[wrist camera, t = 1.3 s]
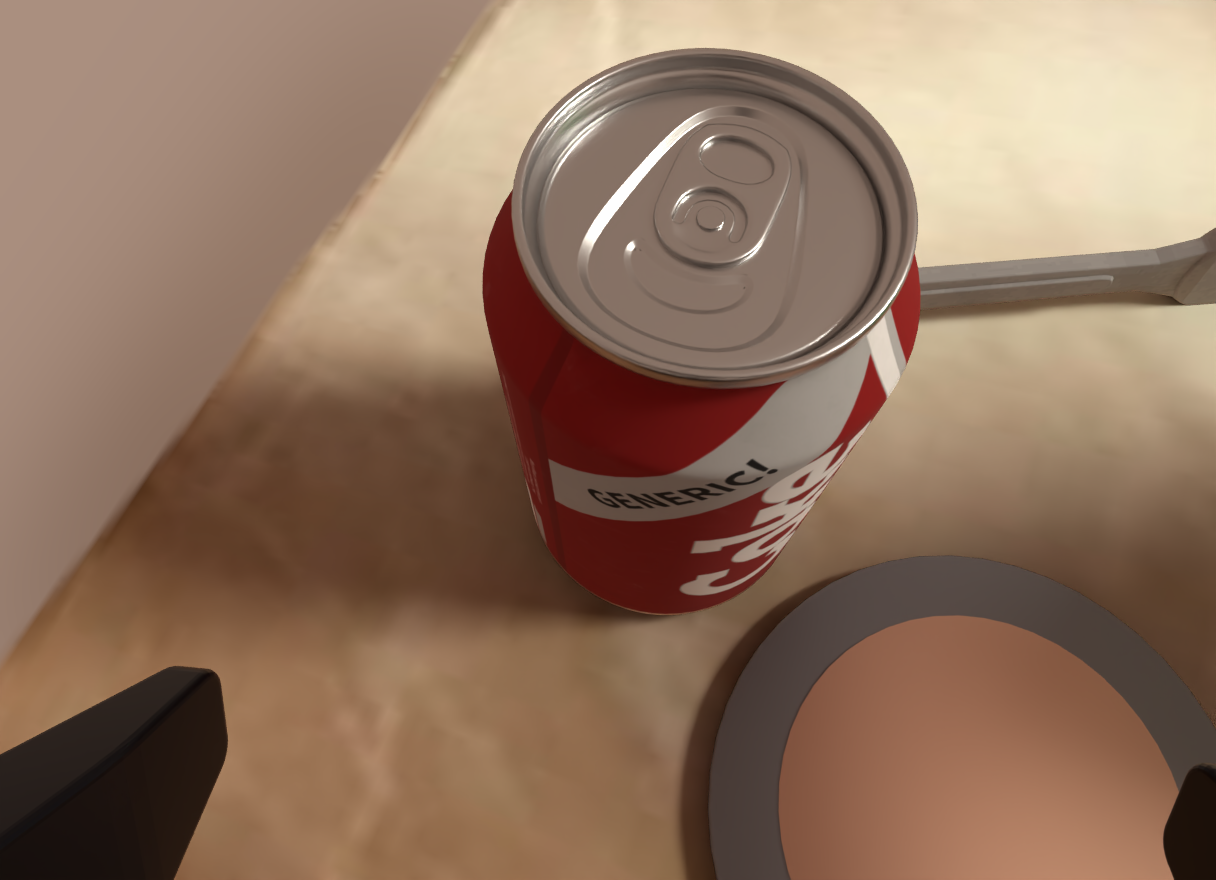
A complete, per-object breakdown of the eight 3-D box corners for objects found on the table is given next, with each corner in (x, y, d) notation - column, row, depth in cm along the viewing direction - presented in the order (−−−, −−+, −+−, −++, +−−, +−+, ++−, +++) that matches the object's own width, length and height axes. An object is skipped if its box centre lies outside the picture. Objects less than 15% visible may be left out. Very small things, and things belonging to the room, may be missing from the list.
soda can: (489, 559, 22) (372, 312, 11) (594, 344, 24) (584, -35, 13) (739, 665, 21) (887, 509, 10) (822, 430, 23) (1017, 95, 12)
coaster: (1141, 1293, 16) (1162, 1312, 16) (608, 913, 19) (608, 916, 18) (1309, 732, 20) (1330, 729, 20) (849, 477, 23) (856, 468, 22)
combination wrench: (593, 310, 21) (1389, 241, 22) (589, 266, 22) (1367, 199, 22) (598, 378, 25) (1284, 318, 25) (595, 339, 25) (1267, 280, 26)
